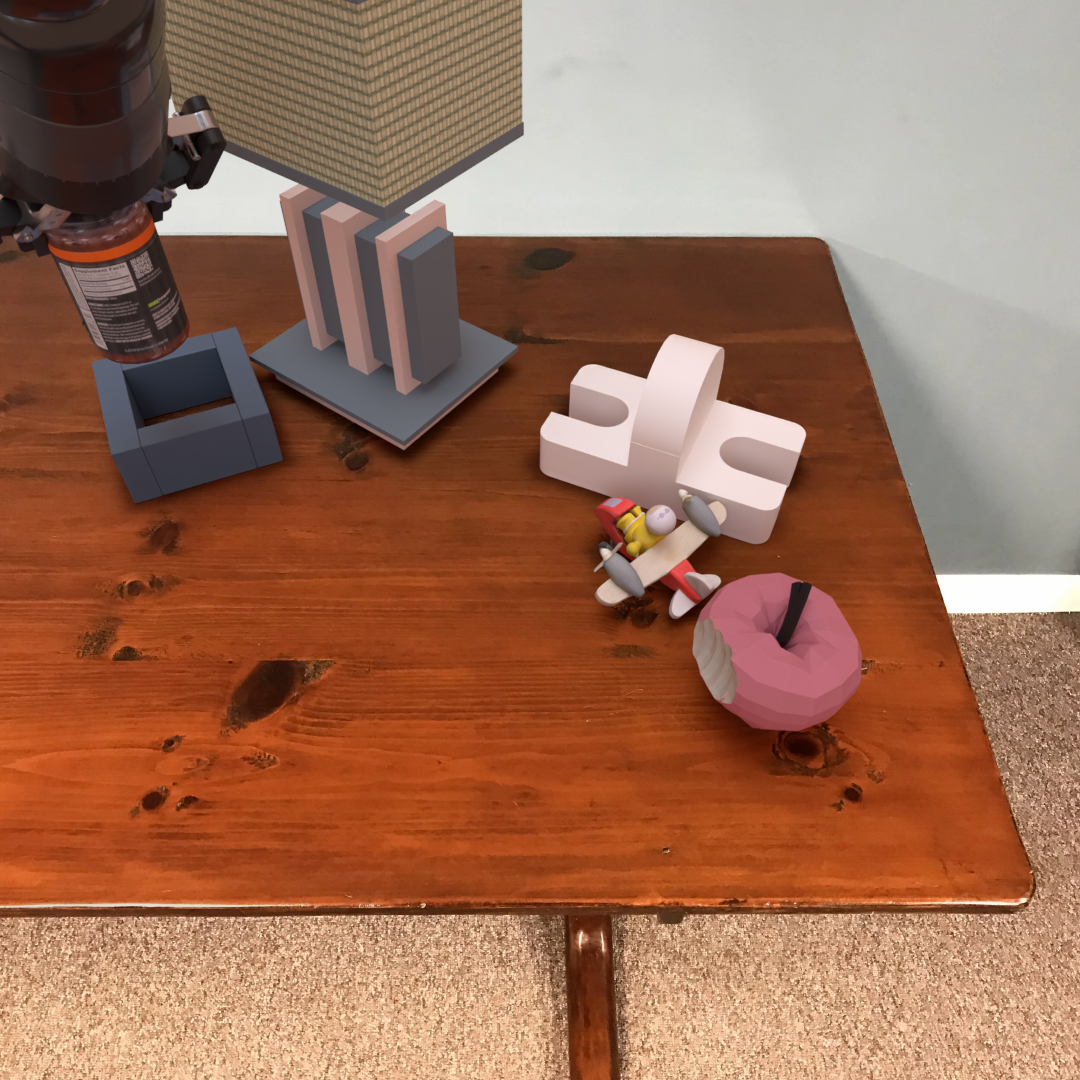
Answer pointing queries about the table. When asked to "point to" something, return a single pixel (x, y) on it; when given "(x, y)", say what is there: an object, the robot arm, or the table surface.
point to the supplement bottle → (121, 283)
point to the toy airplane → (656, 550)
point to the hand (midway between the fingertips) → (93, 222)
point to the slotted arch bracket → (673, 440)
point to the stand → (195, 440)
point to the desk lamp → (364, 179)
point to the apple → (777, 652)
